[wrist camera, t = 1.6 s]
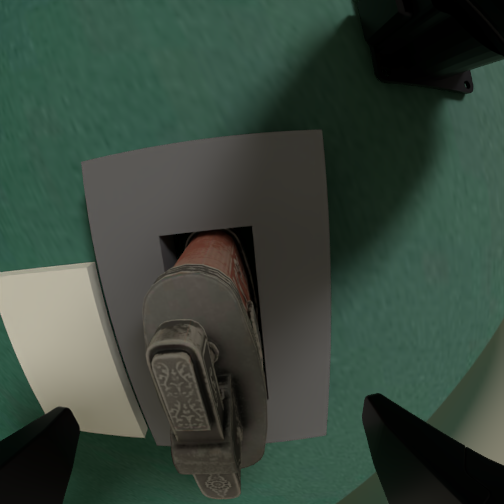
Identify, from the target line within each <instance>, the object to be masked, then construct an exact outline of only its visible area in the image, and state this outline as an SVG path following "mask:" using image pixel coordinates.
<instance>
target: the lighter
mask: <svg viewBox="0 0 504 504" xmlns="http://www.w3.org/2000/svg"><path fill="white" fill-rule="evenodd" d="M142 315H143V326H144V337H145V347H146V360H147V364H148V367H149V370H150V373H151V376H152V380H153V383H154V387H155V390H156V394H157V397H158V400H159V402H160V404H161V406H162V408H163V410H164V412H165V414H166V416H167V418H168V420H169V423H170V425H171V426H170V439H171V455H172V460H173V464H174V466H175V467H176V469H177V471H178V473H180V474H193V476H194V478H195V480H196V482H197V484H198V486H199V488H200V490H201V492H202V493H203V494H204V495H205V496H207V497H209V498H213V499H230V498H235V497H238V496H239V495H240V494H241V480H240V469H241V468H245V467H248V466H251V465H254V464H255V463H256V462H258V461H259V460H261V458H262V456H263V454H264V449H265V443H266V436H267V430H268V416H267V392H266V382H265V375H264V371H263V356H262V346H261V337H260V333H259V327H258V309H257V297H256V292H255V287H254V282H253V278H252V273H251V268H250V265H249V262H248V259H247V256H246V253H245V250H244V247H243V244H242V242H241V239H240V237H239V235H238V233H237V232H236V230H234V229H233V228H226V229H216V230H207V231H198V232H192V234H191V235H190V236H189V238H188V239H187V241H186V244H185V248H184V252H183V253H182V255H181V256H180V258H179V259H178V261H177V262H176V264H175V265H174V267H173V268H170V269H169V270H167V271H166V272H164V273H163V274H162V275H160V276H159V277H158V278H157V280H156V281H155V282H154V284H153V285H152V286H151V288H150V289H149V291H148V292H147V294H146V296H145V297H144V302H143V308H142Z"/></svg>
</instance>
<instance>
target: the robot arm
mask: <svg viewBox="0 0 504 504" xmlns="http://www.w3.org/2000/svg"><path fill="white" fill-rule="evenodd" d="M357 6H358V10H359V14H360V18H361V22H362V27H363V31H364V36H365V41H366V42H367V43H368V44H369V45H370V49H371V54H372V60H373V65H374V71H375V75H376V77H377V78H378V80H380V81H381V82H384V83H393V84H403V85H411V86H419V87H427V88H433V89H440V90H446V91H452V92H457V93H462V94H468V93H471V92H472V91H473V82H472V77H471V72H470V70H472V69H475V68H478V67H481V66H484V65H487V64H490V63H493V62H497V61H500V60H503V59H504V0H359V1H358V3H357ZM382 69H383V70H385V71H387V73H388V77H387V76H385V75H384V74H383V72H382ZM464 83H465V84H466V87H465V85H464ZM362 421H363V425H364V429H365V433H366V437H367V441H368V445H369V448H370V452H371V456H372V460H373V464H374V467H375V469H376V472H377V474H378V477H379V479H380V482H381V484H382V487H383V490H384V492H385V495H386V497H387V500H388V503H389V504H504V465H501V464H499V463H497V462H495V461H492V460H490V459H488V458H486V457H484V456H482V455H481V454H479V453H477V452H475V451H473V450H472V449H470V448H468V447H466V448H465V445H463V444H461V443H459V442H458V441H456V440H454V439H453V438H451V437H449V436H448V435H446V434H444V433H443V432H441V431H439V430H438V429H436V428H434V427H433V426H431V425H430V424H428V423H426V422H425V421H423V420H421V419H420V418H418V417H417V416H415V415H413V414H412V413H410V412H409V411H407V410H405V409H404V408H402V407H401V406H399V405H398V404H396V403H394V402H393V401H391V400H390V399H388V398H387V397H385V396H384V395H382V394H380V393H376V394H371V395H367V396H366V397H365V400H364V407H363V413H362ZM79 434H80V426H79V424H78V422H77V420H76V418H75V417H74V415H73V413H72V411H71V410H70V409H69V408H68V407H62V406H58V407H56V408H54V409H53V410H51V411H49V412H48V413H46V414H45V415H43V416H41V417H40V418H38V419H36V420H35V421H33V422H31V423H30V424H28V425H27V426H25V427H23V428H22V429H20V430H18V431H17V432H15V433H13V434H12V435H10V436H8V437H7V438H5V439H3V440H2V441H0V504H62V503H63V500H64V496H65V492H66V489H67V485H68V482H69V479H70V475H71V472H72V468H73V463H74V458H75V453H76V448H77V443H78V439H79Z"/></svg>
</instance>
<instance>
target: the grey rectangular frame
mask: <svg viewBox="0 0 504 504" xmlns="http://www.w3.org/2000/svg"><path fill="white" fill-rule="evenodd" d="M81 164H82V173H83V182H84V190H85V197H86V204H87V211H88V217H89V223H90V229H91V235H92V240H93V245H94V250H95V255H96V260H97V265H98V269H99V274H100V278H101V282H102V286H103V290H104V294H105V298H106V302H107V306H108V310H109V313H110V317H111V321H112V324H113V328H114V331H115V334H116V338H117V341H118V344H119V347H120V350H121V353H122V357H123V360H124V363H125V366H126V368H127V371H128V374H129V377H130V380H131V383H132V385H133V388H134V391H135V393H136V396H137V399H138V401H139V404H140V406H141V409H142V411H143V414H144V416H145V419H146V421H147V423H148V426H149V428H150V430H151V433H152V435H153V437H154V439H155V442H156V444H157V446H171V439H170V426H171V425H170V423H169V420H168V418H167V416H166V414H165V412H164V410H163V408H162V406H161V404H160V402H159V400H158V397H157V394H156V390H155V387H154V383H153V380H152V376H151V373H150V370H149V367H148V364H147V360H146V347H145V337H144V326H143V315H142V308H143V302H144V297H145V296H146V294H147V292H148V291H149V289H150V288H151V286H152V285H153V284H154V282H155V281H156V280H157V278H158V277H159V276H160V275H162V274H163V273H164V272H166V271H167V270H169V269H170V268H173V267H174V265H175V264H176V262H177V256H176V250H175V243H174V237H173V234H180V233H189V232H198V231H207V230H216V229H226V228H235V227H245V226H252V235H253V246H254V256H255V266H256V276H257V287H258V297H259V307H260V317H261V328H262V338H263V348H264V359H265V369H266V371H265V372H264V375H265V382H266V392H267V416H268V430H267V436H266V443H273V442H282V441H291V440H298V439H305V438H312V437H318V436H324V435H326V429H327V415H328V398H329V378H330V349H331V264H330V234H329V213H328V196H327V181H326V168H325V156H324V145H323V135H322V130H298V131H281V132H267V133H254V134H244V135H234V136H225V137H216V138H208V139H200V140H193V141H186V142H179V143H173V144H167V145H161V146H155V147H149V148H144V149H139V150H133V151H128V152H123V153H119V154H114V155H109V156H105V157H100V158H96V159H92V160H87V161H83V162H81Z"/></svg>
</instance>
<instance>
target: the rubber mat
mask: <svg viewBox="0 0 504 504" xmlns="http://www.w3.org/2000/svg"><path fill="white" fill-rule="evenodd" d="M0 313H1V316H2V319H3V322H4V325H5V327H6V330H7V333H8V335H9V338H10V341H11V343H12V346H13V348H14V350H15V353H16V355H17V358H18V360H19V362H20V364H21V367H22V369H23V371H24V373H25V375H26V377H27V380H28V382H29V384H30V386H31V388H32V390H33V392H34V394H35V396H36V397H37V399H38V401H39V403H40V405H41V407H42V409H43V410H44V412H45V414H46V413H48V412H49V411H51V410H53V409H54V408H56V407H58V406H62V407H68V408H69V409H70V410H71V411H72V413H73V415H74V417H75V418H76V420H77V422H78V424H79V426H80V431H85V432H92V433H100V434H108V435H117V436H127V437H140V438H145V435H146V432H147V429H148V427H147V425H146V423H145V420H144V418H143V415H142V413H141V411H140V408H139V406H138V403H137V401H136V398H135V395H134V393H133V390H132V387H131V385H130V382H129V379H128V377H127V374H126V371H125V368H124V365H123V362H122V359H121V356H120V353H119V350H118V347H117V344H116V341H115V337H114V334H113V331H112V327H111V324H110V320H109V317H108V313H107V310H106V306H105V302H104V298H103V294H102V290H101V286H100V282H99V278H98V274H97V269H96V265H95V262H88V263H79V264H70V265H61V266H52V267H43V268H34V269H25V270H16V271H7V272H0Z"/></svg>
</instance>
